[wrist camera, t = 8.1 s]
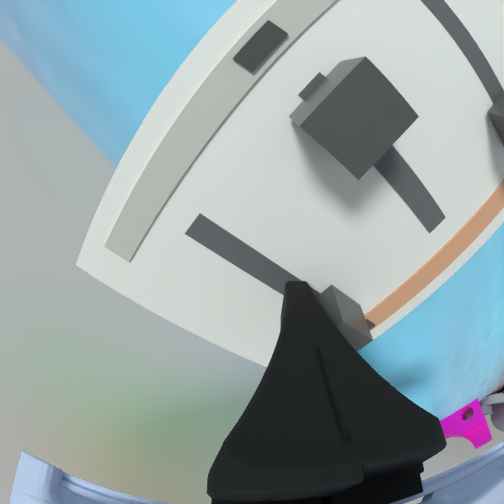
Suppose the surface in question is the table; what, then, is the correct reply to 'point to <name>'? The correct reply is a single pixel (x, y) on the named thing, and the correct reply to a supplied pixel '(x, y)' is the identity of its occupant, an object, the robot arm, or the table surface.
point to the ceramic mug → (494, 409)
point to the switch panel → (305, 170)
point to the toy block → (468, 425)
